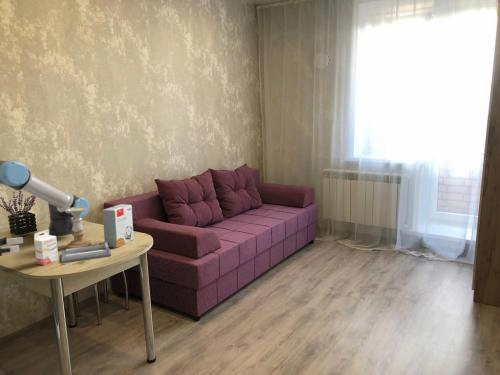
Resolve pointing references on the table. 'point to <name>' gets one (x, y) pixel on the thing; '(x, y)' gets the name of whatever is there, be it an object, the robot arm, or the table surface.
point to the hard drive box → (118, 225)
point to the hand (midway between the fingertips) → (21, 244)
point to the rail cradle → (86, 253)
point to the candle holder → (77, 228)
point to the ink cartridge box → (45, 248)
